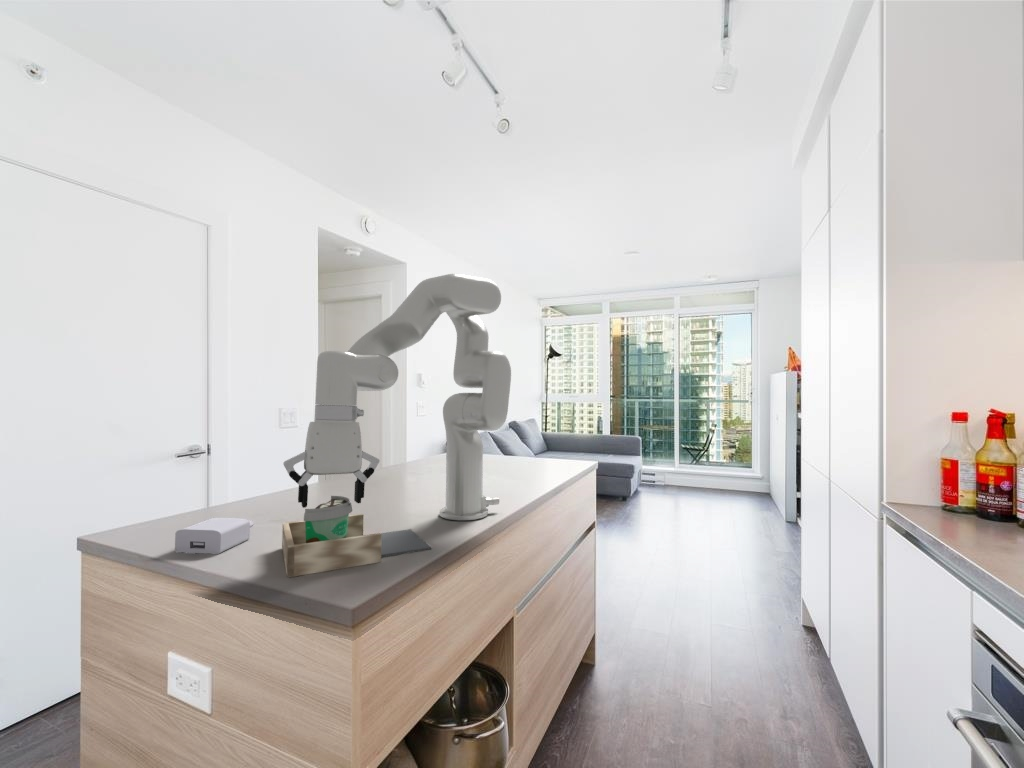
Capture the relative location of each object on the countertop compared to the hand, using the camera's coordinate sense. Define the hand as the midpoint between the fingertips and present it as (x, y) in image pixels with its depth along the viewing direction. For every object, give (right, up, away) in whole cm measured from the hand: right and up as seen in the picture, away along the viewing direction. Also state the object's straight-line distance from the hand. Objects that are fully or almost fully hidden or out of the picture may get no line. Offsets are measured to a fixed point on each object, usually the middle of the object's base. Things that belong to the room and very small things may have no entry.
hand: (331, 504), depth 87 cm
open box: (0, -10, 0) cm, 10 cm away
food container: (0, -10, 0) cm, 10 cm away
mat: (+11, -10, +7) cm, 16 cm away
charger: (-25, -10, +7) cm, 28 cm away
